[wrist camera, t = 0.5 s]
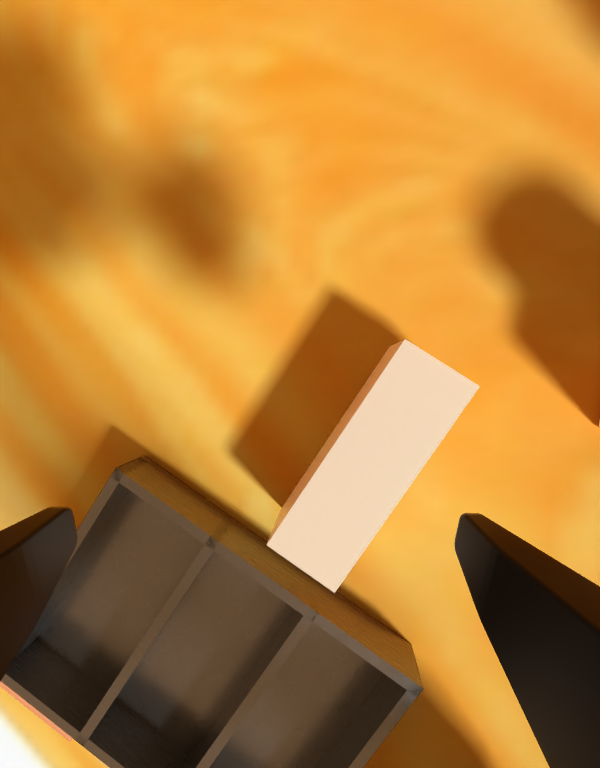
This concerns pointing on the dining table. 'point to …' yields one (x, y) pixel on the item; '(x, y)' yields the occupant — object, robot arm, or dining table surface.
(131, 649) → the divided tray
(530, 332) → the dining table surface
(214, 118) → the dining table surface
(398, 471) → the blanking panel
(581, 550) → the dining table surface
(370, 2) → the dining table surface
